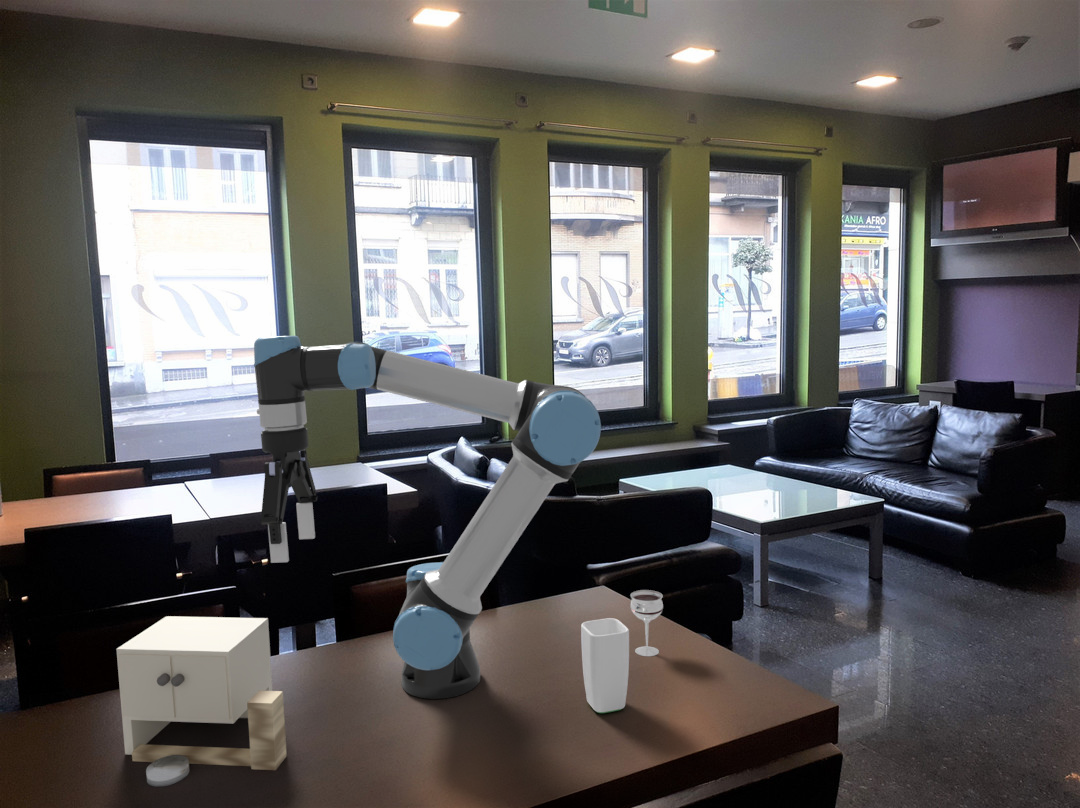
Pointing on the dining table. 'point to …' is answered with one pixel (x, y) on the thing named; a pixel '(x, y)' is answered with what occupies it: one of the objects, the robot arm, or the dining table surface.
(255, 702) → the l-shaped wooden piece
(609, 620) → the cup
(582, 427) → the robot arm
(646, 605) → the wineglass
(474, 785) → the dining table surface
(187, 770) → the disc
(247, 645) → the cabinet
